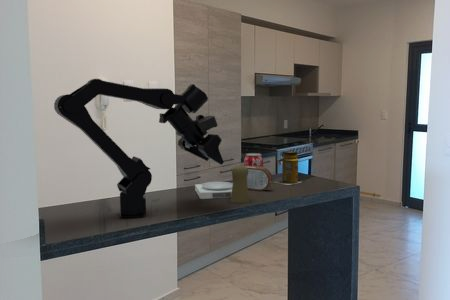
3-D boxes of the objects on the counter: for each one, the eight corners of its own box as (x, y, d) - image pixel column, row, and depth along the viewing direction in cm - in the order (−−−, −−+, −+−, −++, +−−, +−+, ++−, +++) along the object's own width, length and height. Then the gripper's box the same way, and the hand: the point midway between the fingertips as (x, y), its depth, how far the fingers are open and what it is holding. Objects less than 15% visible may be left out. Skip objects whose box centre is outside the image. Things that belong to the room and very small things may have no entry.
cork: (248, 203, 127) (248, 168, 125) (228, 202, 128) (228, 167, 126) (250, 198, 132) (250, 165, 131) (232, 198, 134) (232, 164, 132)
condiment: (302, 182, 160) (302, 151, 158) (289, 185, 154) (289, 153, 152) (287, 180, 165) (287, 150, 163) (274, 182, 159) (274, 152, 158)
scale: (200, 199, 132) (200, 190, 132) (195, 190, 146) (195, 181, 146) (242, 197, 135) (242, 188, 135) (233, 188, 149) (233, 180, 149)
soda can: (266, 185, 154) (266, 153, 152) (257, 189, 148) (257, 155, 146) (249, 183, 157) (249, 152, 156) (240, 186, 151) (240, 154, 150)
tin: (272, 190, 145) (273, 167, 144) (269, 192, 142) (269, 168, 141) (235, 186, 152) (234, 164, 151) (231, 188, 149) (231, 165, 148)
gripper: (217, 105, 114) (248, 145, 120) (188, 105, 130) (217, 140, 136) (190, 133, 110) (223, 173, 117) (164, 129, 126) (194, 164, 133)
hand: (215, 161), depth 126 cm, fingers open, 9 cm apart
